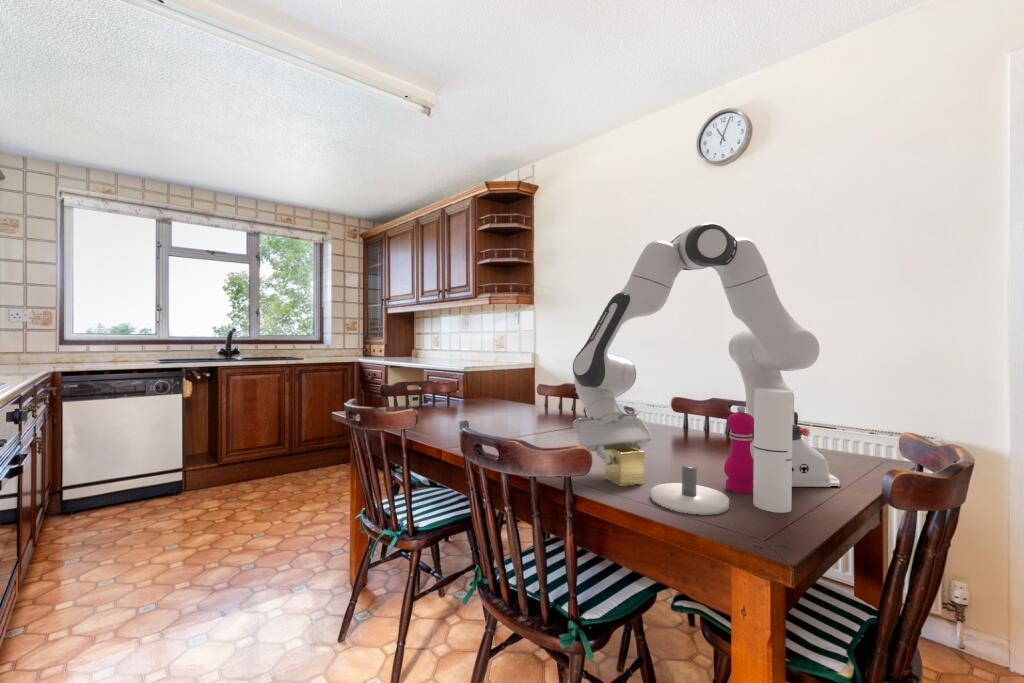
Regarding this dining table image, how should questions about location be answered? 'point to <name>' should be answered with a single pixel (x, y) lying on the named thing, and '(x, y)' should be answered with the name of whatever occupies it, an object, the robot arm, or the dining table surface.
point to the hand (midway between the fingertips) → (625, 462)
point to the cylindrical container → (773, 449)
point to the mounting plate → (690, 503)
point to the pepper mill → (740, 453)
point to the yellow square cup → (625, 465)
